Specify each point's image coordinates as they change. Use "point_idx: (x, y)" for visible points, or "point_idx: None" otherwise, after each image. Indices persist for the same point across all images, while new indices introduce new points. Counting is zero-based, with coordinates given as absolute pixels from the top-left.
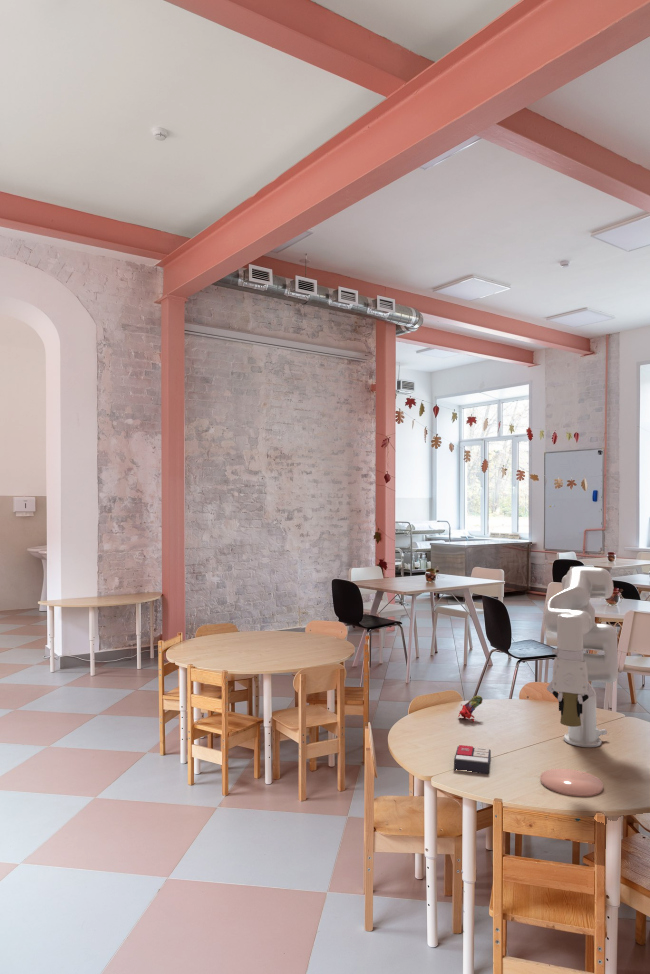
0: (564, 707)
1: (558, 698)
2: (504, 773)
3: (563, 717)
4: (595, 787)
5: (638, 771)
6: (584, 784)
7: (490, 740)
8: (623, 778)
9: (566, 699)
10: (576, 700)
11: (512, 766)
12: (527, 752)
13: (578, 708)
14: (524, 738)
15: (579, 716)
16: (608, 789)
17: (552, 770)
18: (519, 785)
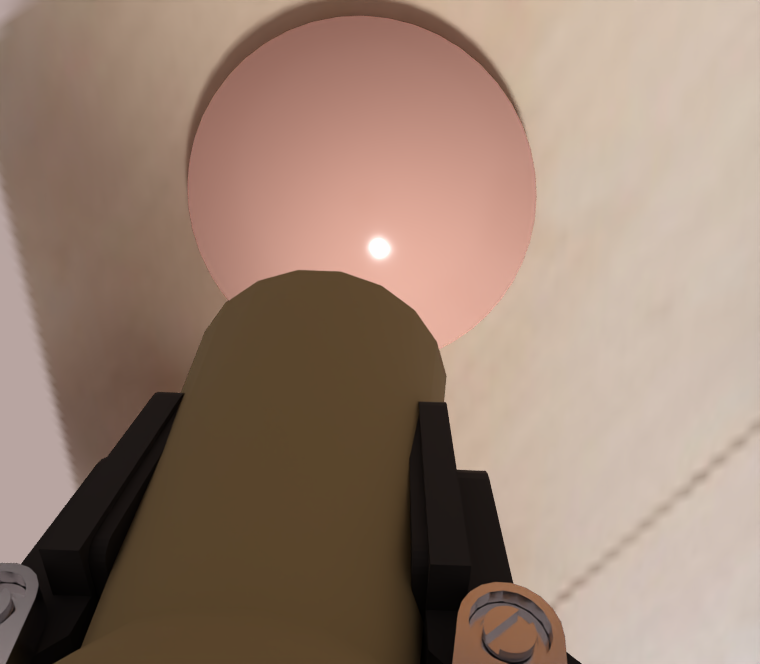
0: (387, 468)
1: (541, 655)
2: (737, 208)
3: (404, 357)
4: (222, 162)
5: (85, 478)
6: (284, 181)
7: (755, 591)
8: (128, 379)
9: (327, 619)
10: (83, 642)
11: (678, 326)
12: (584, 518)
13: (111, 475)
14: (590, 651)
15: (158, 393)
16: (168, 210)
17: (466, 314)
18: (663, 50)
